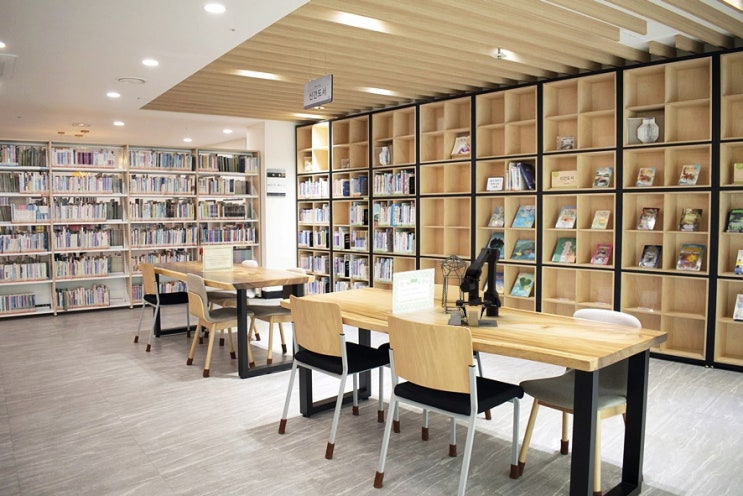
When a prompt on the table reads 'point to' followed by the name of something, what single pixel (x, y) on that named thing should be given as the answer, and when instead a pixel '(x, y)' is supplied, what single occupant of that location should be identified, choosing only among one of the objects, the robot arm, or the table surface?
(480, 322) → the jig board
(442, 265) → the geometric lantern
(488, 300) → the robot arm
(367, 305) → the table surface
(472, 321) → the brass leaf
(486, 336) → the table surface
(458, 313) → the grey block with knob
